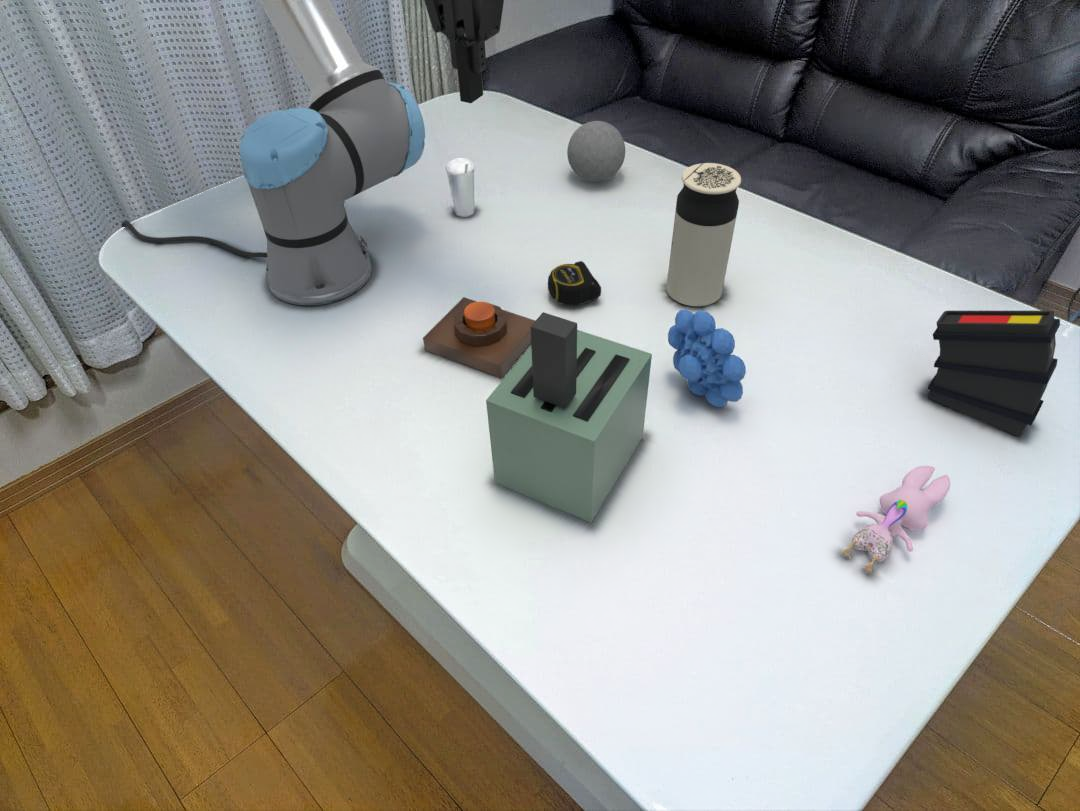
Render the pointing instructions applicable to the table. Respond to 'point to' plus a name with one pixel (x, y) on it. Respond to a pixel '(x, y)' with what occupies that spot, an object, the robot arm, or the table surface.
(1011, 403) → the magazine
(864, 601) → the table surface
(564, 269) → the tape measure
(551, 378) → the slider
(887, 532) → the rabbit figure
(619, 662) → the table surface
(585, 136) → the decorative ball
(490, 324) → the button
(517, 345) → the button block
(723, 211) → the travel mug
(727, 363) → the grapes
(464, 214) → the milkshake
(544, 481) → the toaster
